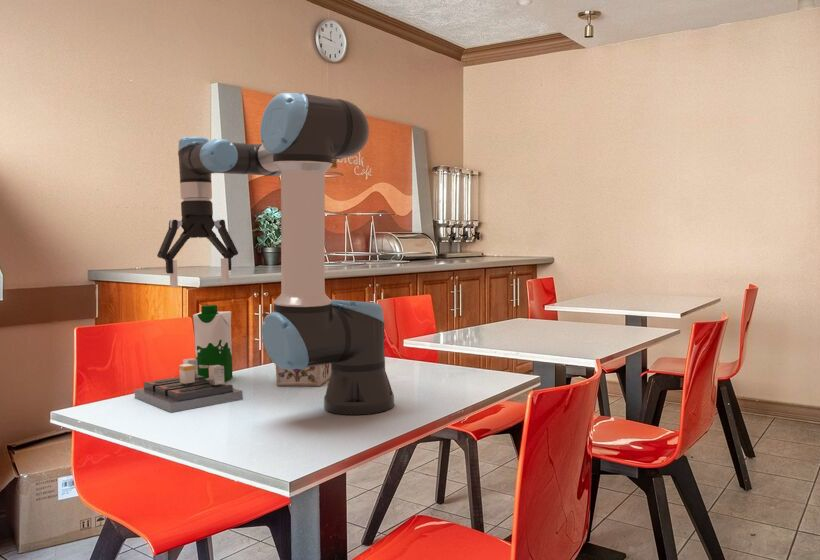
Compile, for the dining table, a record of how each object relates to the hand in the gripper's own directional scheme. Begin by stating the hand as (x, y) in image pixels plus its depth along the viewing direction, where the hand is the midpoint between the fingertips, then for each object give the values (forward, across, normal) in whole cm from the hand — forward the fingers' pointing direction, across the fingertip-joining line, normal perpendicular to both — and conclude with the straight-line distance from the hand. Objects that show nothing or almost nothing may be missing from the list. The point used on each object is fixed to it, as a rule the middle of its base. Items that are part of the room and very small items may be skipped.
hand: (200, 285), depth 175 cm
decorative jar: (+26, -21, +14) cm, 36 cm away
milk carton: (+26, -6, -6) cm, 27 cm away
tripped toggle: (+22, +9, +10) cm, 25 cm away
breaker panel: (+26, +9, +10) cm, 29 cm away
